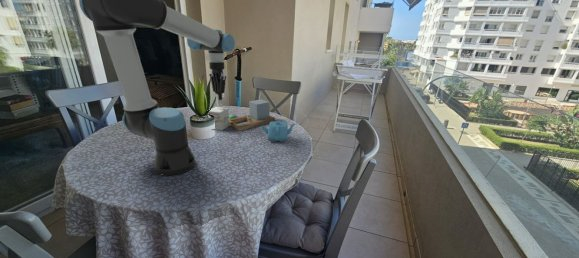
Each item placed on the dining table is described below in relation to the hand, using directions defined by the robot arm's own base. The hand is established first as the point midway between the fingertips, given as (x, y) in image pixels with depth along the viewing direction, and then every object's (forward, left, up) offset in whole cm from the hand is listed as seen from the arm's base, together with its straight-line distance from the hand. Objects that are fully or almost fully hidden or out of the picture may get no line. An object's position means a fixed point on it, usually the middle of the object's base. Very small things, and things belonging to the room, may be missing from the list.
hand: (219, 105), depth 134 cm
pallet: (-6, -17, -13) cm, 22 cm away
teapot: (-33, -16, -14) cm, 39 cm away
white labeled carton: (-1, +2, -14) cm, 14 cm away
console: (+6, -10, -13) cm, 17 cm away
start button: (+6, -10, -12) cm, 17 cm away
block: (-6, -23, -12) cm, 26 cm away
